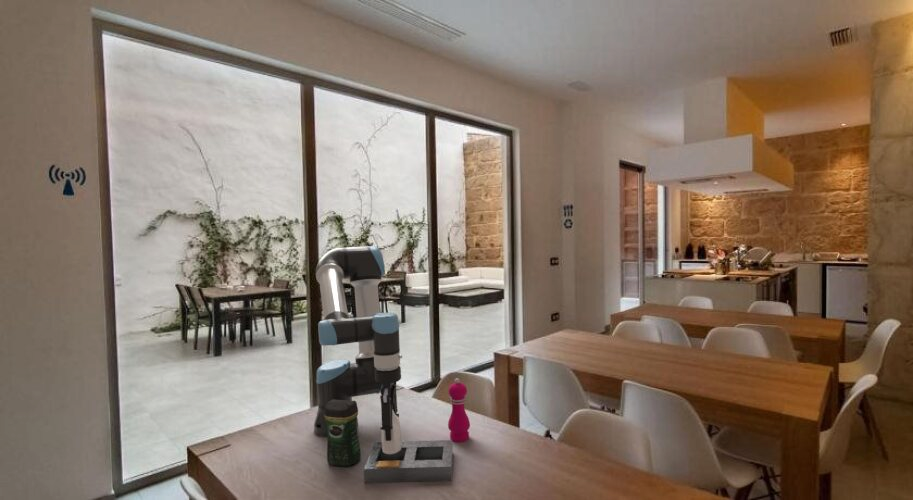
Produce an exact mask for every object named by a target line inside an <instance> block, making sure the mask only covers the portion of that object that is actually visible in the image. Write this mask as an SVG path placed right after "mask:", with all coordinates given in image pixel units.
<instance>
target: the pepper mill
mask: <svg viewBox="0 0 913 500" xmlns="http://www.w3.org/2000/svg"><path fill="white" fill-rule="evenodd" d="M467 390H468V389H467V386H466V385H465V384H464V383H463V382H461V380H460V379H459V378H458V377H457V378H455V379H454V382H453V383H451V384H450V385H449V387H448V395H449V396H450V403H451V409H452V410H451V414H450V416H449V419H448V422H447V423H448V424H447V426H448V430H449V431H450V432H449V440H452V442H455V443H462V442H465V441H468V440H469V438H470V432H469V429H470V427H471V423H470V419H469V416H468V414H467V413H466V410H465V404H466V401H467V400H466V399H467V398H466V396H467Z"/></svg>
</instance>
